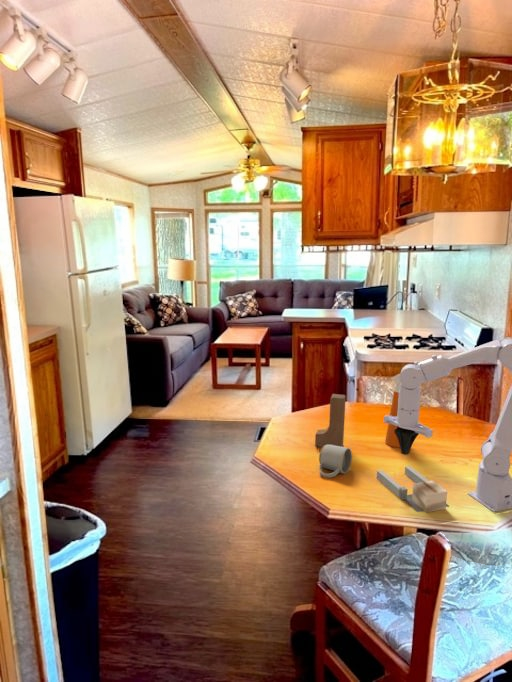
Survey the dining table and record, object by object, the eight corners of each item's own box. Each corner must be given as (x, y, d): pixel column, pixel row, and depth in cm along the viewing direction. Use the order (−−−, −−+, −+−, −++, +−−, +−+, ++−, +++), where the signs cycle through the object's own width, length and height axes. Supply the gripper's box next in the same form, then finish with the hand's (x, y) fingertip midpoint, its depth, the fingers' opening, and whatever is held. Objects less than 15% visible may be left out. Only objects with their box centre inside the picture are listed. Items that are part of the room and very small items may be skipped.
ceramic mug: (327, 461, 152) (328, 438, 150) (351, 467, 147) (352, 444, 146) (312, 474, 143) (313, 451, 141) (337, 482, 139) (338, 457, 137)
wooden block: (314, 446, 163) (316, 395, 159) (317, 441, 167) (319, 392, 163) (341, 450, 160) (344, 398, 156) (343, 444, 164) (345, 394, 161)
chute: (436, 495, 132) (437, 484, 131) (401, 500, 129) (402, 489, 128) (408, 473, 144) (409, 463, 143) (376, 478, 141) (377, 468, 140)
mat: (449, 506, 126) (449, 506, 126) (416, 512, 123) (416, 511, 123) (430, 491, 134) (430, 491, 134) (399, 496, 131) (399, 496, 131)
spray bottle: (410, 452, 158) (416, 376, 153) (381, 443, 166) (386, 369, 160) (420, 446, 163) (426, 372, 158) (391, 437, 171) (396, 366, 165)
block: (445, 509, 125) (447, 490, 124) (425, 512, 123) (427, 494, 122) (431, 497, 130) (432, 480, 129) (411, 500, 128) (413, 483, 127)
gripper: (440, 411, 130) (436, 458, 133) (395, 398, 141) (392, 441, 144) (426, 417, 126) (422, 465, 128) (380, 403, 137) (377, 447, 139)
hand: (405, 453), depth 136 cm, fingers closed
